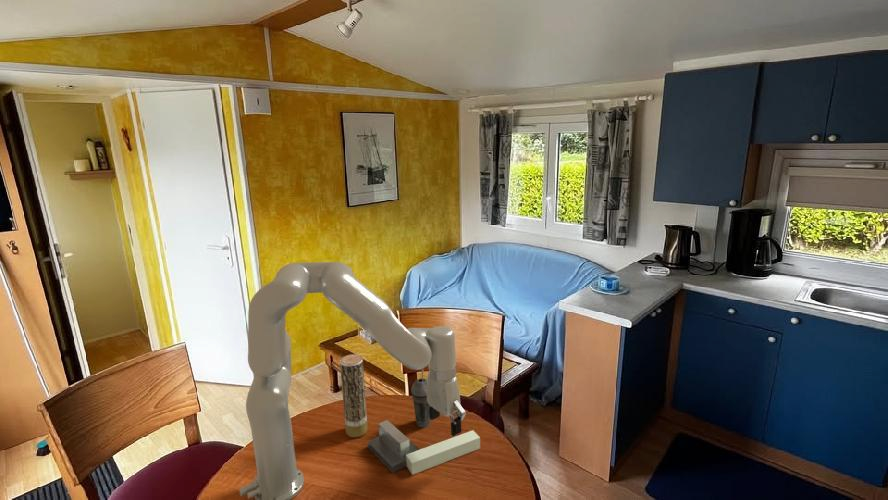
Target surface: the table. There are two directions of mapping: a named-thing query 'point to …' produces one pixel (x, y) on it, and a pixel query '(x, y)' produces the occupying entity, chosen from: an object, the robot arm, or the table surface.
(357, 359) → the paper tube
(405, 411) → the table surface
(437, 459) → the batten
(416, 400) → the beverage cup
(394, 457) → the ridge stand
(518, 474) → the table surface
